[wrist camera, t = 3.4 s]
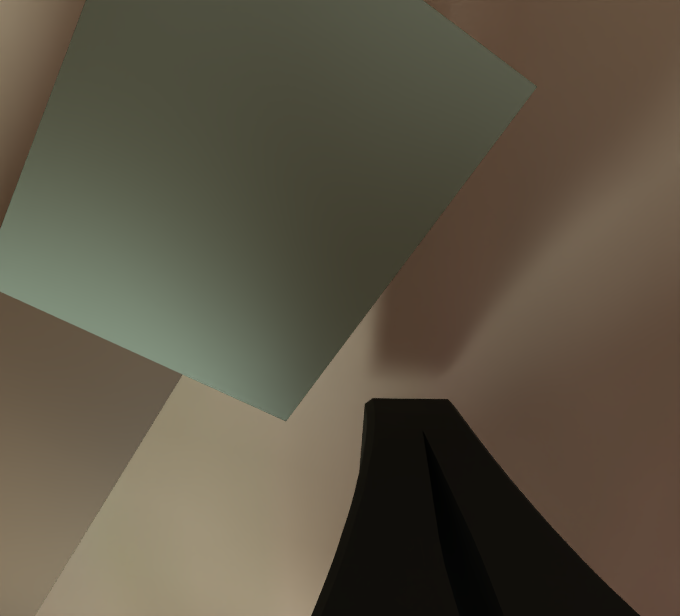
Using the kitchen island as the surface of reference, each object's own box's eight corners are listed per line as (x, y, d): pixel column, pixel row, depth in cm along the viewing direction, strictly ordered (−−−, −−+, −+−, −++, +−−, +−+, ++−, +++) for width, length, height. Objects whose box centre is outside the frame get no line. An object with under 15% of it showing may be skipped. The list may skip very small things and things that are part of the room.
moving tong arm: (21, 691, 15) (-55, 875, 12) (-112, 657, 14) (-232, 846, 11) (449, 43, 8) (536, 87, 5) (232, -119, 7) (159, -199, 4)
